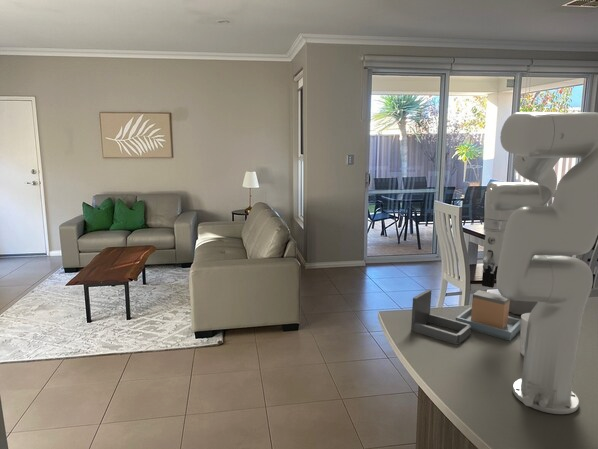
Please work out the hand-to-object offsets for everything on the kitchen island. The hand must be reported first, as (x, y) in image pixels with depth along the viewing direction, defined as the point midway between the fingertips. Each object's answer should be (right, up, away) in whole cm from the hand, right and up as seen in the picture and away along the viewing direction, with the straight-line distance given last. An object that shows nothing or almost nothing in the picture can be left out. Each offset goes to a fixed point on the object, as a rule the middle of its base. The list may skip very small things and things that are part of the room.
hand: (493, 283), depth 129 cm
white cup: (+5, -17, -14) cm, 22 cm away
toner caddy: (0, -13, +3) cm, 13 cm away
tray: (0, -14, +3) cm, 14 cm away
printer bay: (-15, -14, 0) cm, 21 cm away
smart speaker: (+15, -12, +14) cm, 24 cm away
